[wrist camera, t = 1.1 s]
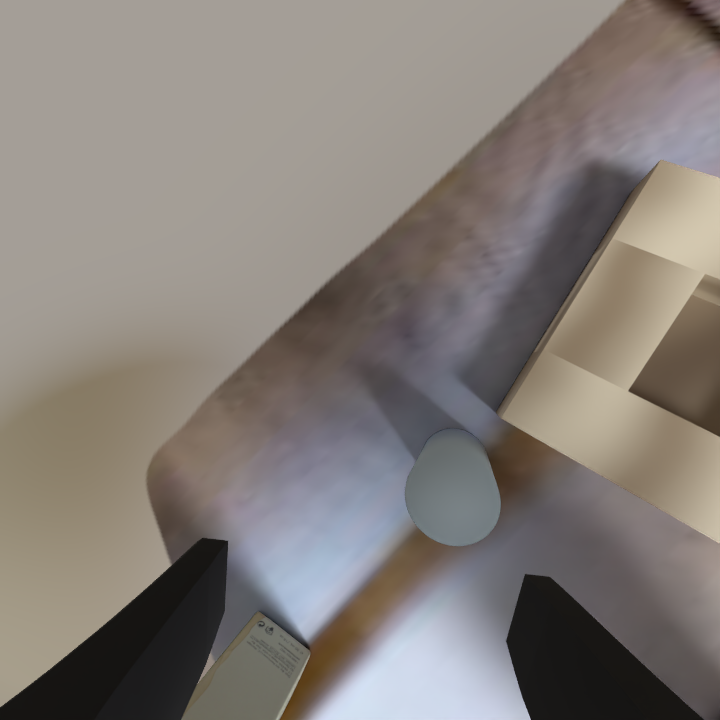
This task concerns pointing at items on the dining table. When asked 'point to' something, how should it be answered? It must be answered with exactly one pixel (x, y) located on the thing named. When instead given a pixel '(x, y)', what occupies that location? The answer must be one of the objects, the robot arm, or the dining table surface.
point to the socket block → (640, 353)
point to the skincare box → (250, 676)
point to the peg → (453, 489)
